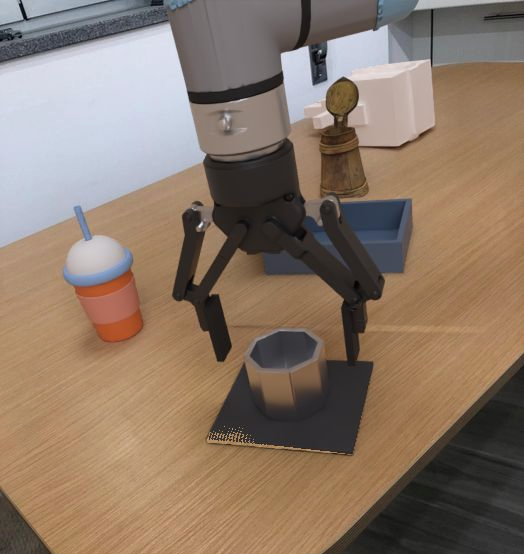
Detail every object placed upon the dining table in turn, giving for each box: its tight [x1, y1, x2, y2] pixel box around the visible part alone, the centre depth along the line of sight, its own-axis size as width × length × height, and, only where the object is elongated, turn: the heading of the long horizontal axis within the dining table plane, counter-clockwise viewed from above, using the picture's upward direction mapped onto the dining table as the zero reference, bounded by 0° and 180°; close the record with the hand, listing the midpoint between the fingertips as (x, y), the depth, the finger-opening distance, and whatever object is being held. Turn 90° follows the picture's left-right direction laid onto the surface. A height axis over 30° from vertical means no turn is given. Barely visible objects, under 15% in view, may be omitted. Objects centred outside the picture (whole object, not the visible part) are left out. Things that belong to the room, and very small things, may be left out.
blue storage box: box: [261, 197, 414, 276], centre depth 89 cm, size 20×15×5 cm
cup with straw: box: [62, 205, 144, 343], centre depth 78 cm, size 9×9×18 cm
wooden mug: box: [318, 76, 369, 199], centre depth 107 cm, size 9×14×18 cm, turn 164°
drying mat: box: [205, 359, 375, 455], centre depth 64 cm, size 15×14×1 cm
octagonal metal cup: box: [243, 327, 330, 422], centre depth 62 cm, size 8×8×6 cm
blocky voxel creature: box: [303, 58, 436, 147], centre depth 132 cm, size 15×25×28 cm
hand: (287, 356), depth 61 cm, fingers open, 13 cm apart
